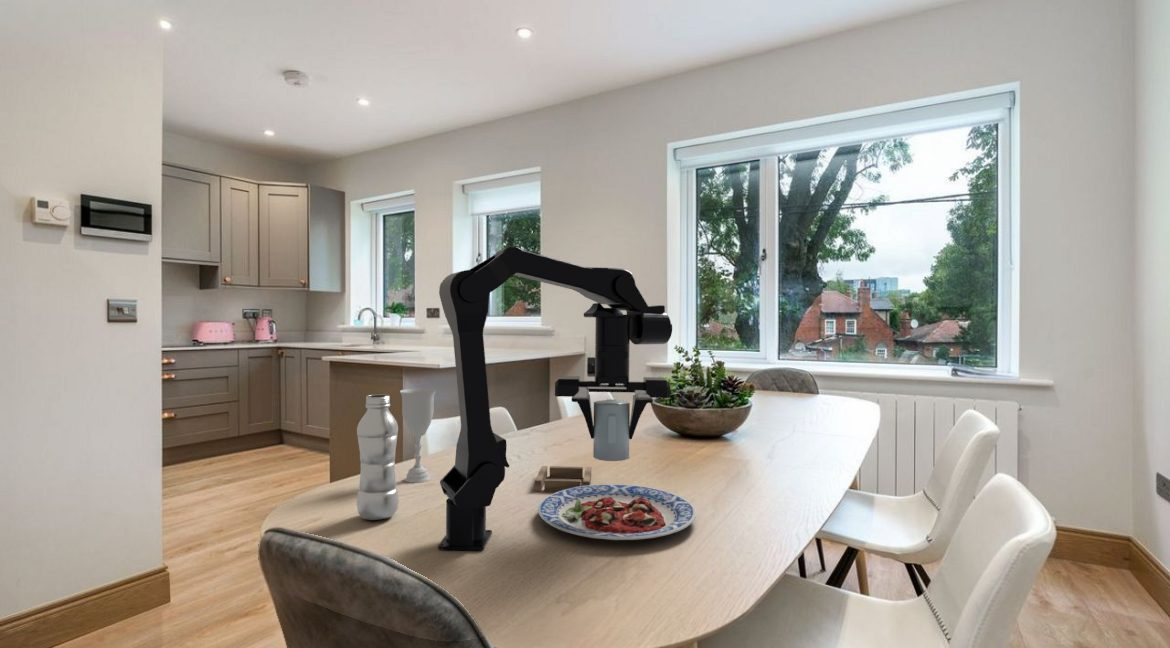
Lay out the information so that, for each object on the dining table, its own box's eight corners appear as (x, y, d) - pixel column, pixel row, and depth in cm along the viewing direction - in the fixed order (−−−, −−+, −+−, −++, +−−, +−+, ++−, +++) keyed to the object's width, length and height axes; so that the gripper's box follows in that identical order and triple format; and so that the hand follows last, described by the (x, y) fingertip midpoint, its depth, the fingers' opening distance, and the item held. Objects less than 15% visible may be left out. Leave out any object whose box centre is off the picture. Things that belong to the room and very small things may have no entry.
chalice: (392, 482, 112) (392, 392, 112) (412, 473, 118) (412, 388, 118) (424, 485, 110) (424, 393, 109) (442, 476, 116) (443, 389, 116)
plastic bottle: (371, 528, 87) (372, 400, 87) (348, 518, 91) (348, 396, 91) (407, 516, 92) (407, 395, 92) (383, 508, 97) (383, 392, 96)
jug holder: (589, 492, 106) (589, 481, 106) (534, 490, 107) (534, 480, 107) (591, 476, 117) (591, 467, 117) (541, 475, 117) (541, 466, 117)
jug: (628, 451, 97) (628, 399, 97) (631, 465, 88) (631, 408, 88) (593, 450, 97) (594, 399, 97) (592, 465, 88) (593, 407, 88)
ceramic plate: (701, 503, 101) (701, 486, 101) (688, 562, 76) (688, 541, 76) (565, 490, 108) (565, 475, 108) (513, 541, 83) (513, 521, 83)
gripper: (663, 343, 101) (662, 429, 101) (559, 342, 102) (559, 428, 102) (670, 346, 90) (669, 443, 90) (555, 345, 91) (554, 441, 91)
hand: (611, 438), depth 94 cm, fingers closed on jug, 6 cm apart
